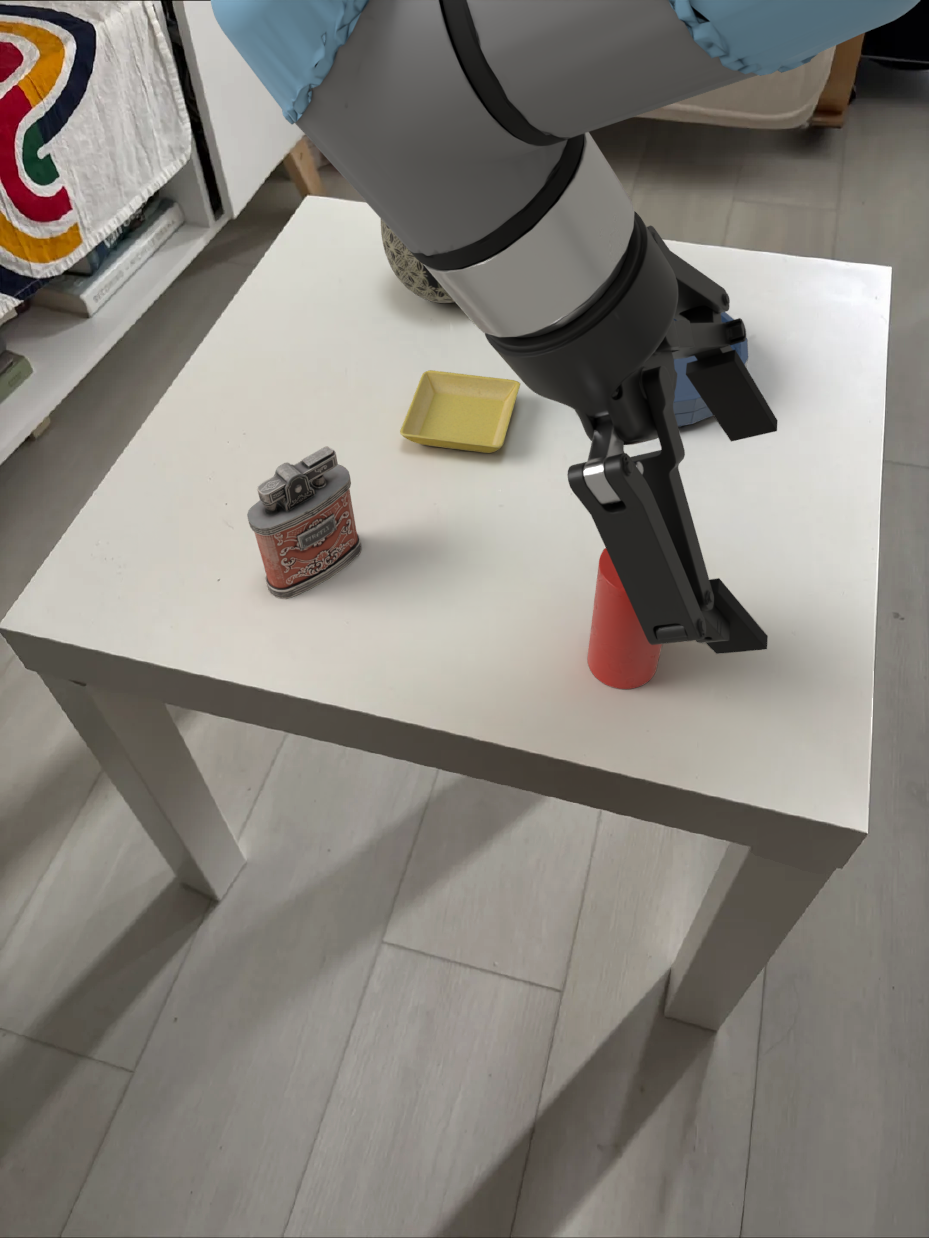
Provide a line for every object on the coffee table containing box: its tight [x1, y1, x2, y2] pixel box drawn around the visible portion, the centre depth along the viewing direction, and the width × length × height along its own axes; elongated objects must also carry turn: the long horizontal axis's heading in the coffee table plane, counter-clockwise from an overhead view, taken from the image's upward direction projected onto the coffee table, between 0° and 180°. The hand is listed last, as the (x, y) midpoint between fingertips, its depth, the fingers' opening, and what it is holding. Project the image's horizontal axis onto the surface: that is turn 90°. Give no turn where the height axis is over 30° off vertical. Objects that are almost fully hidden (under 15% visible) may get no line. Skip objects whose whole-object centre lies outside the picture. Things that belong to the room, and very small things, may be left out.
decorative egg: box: [380, 218, 456, 304], centre depth 89 cm, size 12×12×15 cm
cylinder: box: [587, 547, 663, 690], centre depth 63 cm, size 5×5×10 cm
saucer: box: [399, 369, 521, 454], centre depth 82 cm, size 9×9×2 cm
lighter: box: [246, 446, 363, 599], centre depth 69 cm, size 8×3×10 cm, turn 131°
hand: (748, 533), depth 53 cm, fingers open, 13 cm apart
